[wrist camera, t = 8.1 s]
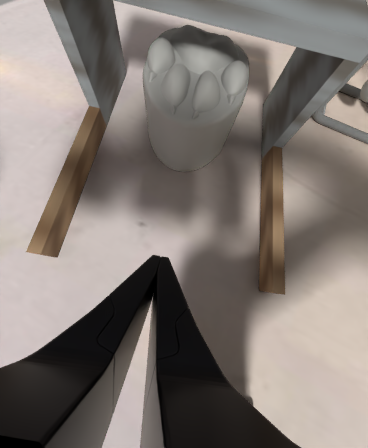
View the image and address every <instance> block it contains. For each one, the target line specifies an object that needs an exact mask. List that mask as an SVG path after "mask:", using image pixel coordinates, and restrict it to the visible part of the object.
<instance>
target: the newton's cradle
mask: <svg viewBox="0 0 368 448" xmlns="http://www.w3.org/2000/svg"><path fill="white" fill-rule="evenodd" d="M367 60H368V54H367V55H366V57H365V58H364V59H363V60H362V61H361V62H360V63H359V64H358V65H357V66H356V68H355V69H354V70H353V71H352V72H351V73H350V74H349V75H348V76H347V77H346V78H345V80H344V81H343V82H342V83H341V84H340V85H339V86H338V87H337V88H336V89H335V90H334V92H333V93H332V94H331V95H330V96H329V97H328V98H327V99H326V100H325V101H324V103H323V104H322V105H321V106H320V107H319V108H318V109H317V110H316V111H315V112H314V113H313V118H314V120H315V121H316V122H317V123H319V124H321V125H324V126H326V127H328V128H331V129H333V130H336V131H338V132H340V133H343V134H345V135H347V136H350V137H352V138H355V139H357V140H359V141H362V142H364V143H367V144H368V133H365V132H363V131H361V130H358V129H356V128H353V127H351V126H349V125H346V124H344V123H341V122H339V121H337V120H334V119H332V118H329V117H327V116H325V115H324V114H325V109H326V104H327V103H328V102H329V101H330V100H331V99H332V98H333V97H334V96H335V94H336V93H337V92H338V91H340V92H343V93H345V94H348V95H350V96H352V97H355V98H357V99H360V100H362V101H364V102H366V103H368V80H367V81H366V82H365V84H364V85H363V87H362V89H358V88H356V87H354V86H351V85H349V84H346V83H347V82H348V81H349V80H350V78H351V77H352V76H353V75H354V74H355V73H356V72H357V71H358V70H359V69H360V68H361V67H362V66H363V65H364V64H365V62H366V61H367Z"/></svg>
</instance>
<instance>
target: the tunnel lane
mask: <svg viewBox="0 0 368 448" xmlns="http://www.w3.org/2000/svg"><path fill="white" fill-rule="evenodd" d="M115 1H118V2H122V3H126V4H130V5H134V6H138V7H142V8H146V9H150V10H154V11H158V12H162V13H166V14H169V15H173V16H177V17H181V18H185V19H189V20H193V21H197V22H201V23H205V24H209V25H213V26H217V27H220V28H224V29H228V30H232V31H236V32H240V33H244V34H248V35H252V36H256V37H260V38H264V39H268V40H271V41H275V42H279V43H283V44H287V45H291V46H295V47H296V49H295V51H294V53H293V54H292V56H291V58H290V59H289V61H288V63H287V65H286V66H285V68H284V70H283V72H282V73H281V75H280V77H279V79H278V80H277V82H276V84H275V85H274V87H273V89H272V91H271V92H270V94H269V96H268V98H267V99H266V101H265V103H264V104H263V134H262V179H261V223H260V268H259V291H264V292H270V293H277V294H285V267H284V218H283V169H282V147H283V146H284V145H285V144H286V143H287V142H288V141H289V140H290V139H291V138H292V136H293V135H294V134H295V133H296V132H297V131H298V130H299V129H300V128H301V127H302V126H303V124H304V123H305V122H306V121H307V120H308V119H309V118H310V117H311V116H312V115H313V113H314V112H315V111H316V110H317V109H318V108H319V107H320V106H321V105H322V104H323V103H324V101H325V100H326V99H327V98H328V97H329V96H330V95H331V94H332V93H333V92H334V90H335V89H336V88H337V87H338V86H339V85H340V84H341V83H342V82H343V81H344V80H345V78H346V77H347V76H348V75H349V74H350V73H351V72H352V71H353V70H354V69H355V68H356V66H357V65H358V64H359V63H360V62H361V61H362V60H363V59H364V58H365V57H366V55H367V54H368V5H367V2H366V0H115ZM44 2H45V4H46V7H47V9H48V11H49V14H50V16H51V18H52V21H53V23H54V25H55V28H56V30H57V32H58V35H59V37H60V39H61V42H62V44H63V46H64V49H65V51H66V53H67V55H68V58H69V60H70V62H71V65H72V67H73V69H74V72H75V74H76V76H77V79H78V81H79V83H80V86H81V88H82V90H83V93H84V95H85V97H86V99H87V102H88V104H89V108H88V110H87V112H86V115H85V117H84V119H83V122H82V124H81V126H80V129H79V131H78V133H77V136H76V138H75V140H74V142H73V145H72V147H71V149H70V152H69V154H68V156H67V159H66V161H65V163H64V166H63V168H62V170H61V172H60V175H59V177H58V179H57V182H56V184H55V186H54V189H53V191H52V193H51V196H50V198H49V200H48V203H47V205H46V207H45V209H44V212H43V214H42V216H41V219H40V221H39V223H38V226H37V228H36V230H35V233H34V235H33V237H32V239H31V242H30V244H29V246H28V249H27V251H26V252H29V253H35V254H40V255H45V256H51V257H58V254H59V251H60V249H61V246H62V243H63V241H64V238H65V235H66V233H67V230H68V227H69V225H70V222H71V219H72V217H73V214H74V211H75V209H76V206H77V203H78V201H79V198H80V195H81V193H82V190H83V187H84V185H85V182H86V179H87V177H88V174H89V171H90V169H91V166H92V163H93V161H94V158H95V155H96V153H97V150H98V147H99V145H100V142H101V139H102V137H103V134H104V131H105V129H106V126H107V123H108V121H109V118H110V115H111V113H112V110H113V107H114V105H115V102H116V99H117V97H118V94H119V91H120V89H121V86H122V83H123V81H124V78H125V75H126V70H125V64H124V59H123V53H122V48H121V42H120V37H119V31H118V26H117V20H116V15H115V9H114V4H113V0H44Z"/></svg>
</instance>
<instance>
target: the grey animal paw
mask: <svg viewBox="0 0 368 448" xmlns="http://www.w3.org/2000/svg"><path fill="white" fill-rule="evenodd" d="M248 79H249V61H248V57H247V55H246V54H245V52H244V51H243V50H242V49H241V48H240V47H239V46H237V45H236V44H234V43H233V41H232V40H231V39H230V38H229V37H227V36H224V35H218V34H215V33H209V32H206V31H204V30H201V29H199V28H196V27H194V26H191V25H185V26H183V27H181V28H174V29H171V30H168V31H166V32H164V33H162V34H161V35H160V36H159V37H158V39H156V40H155V41H154V42H153V43H152V44H151V46H150V48H149V50H148V57H147V60H146V62H145V66H144V69H143V87H144V96H145V105H146V115H147V124H148V134H149V139H150V142H151V145H152V148H153V150H154V152H155V154H156V156H157V157H158V158H159V159H160V161H161V162H162V163H163V164H165V165H166V166H167V167H169V168H170V169H173V170H175V171H180V172H188V171H193V170H196V169H199V168H202V167H204V166H205V165H207V164H208V163H209V162H211V161H212V160H213V159H214V158H215V157H216V156H217V155H218V154H219V153H220V152H221V150H222V147H223V145H224V143H225V141H226V139H227V136H228V134H229V132H230V130H231V128H232V125H233V123H234V121H235V119H236V117H237V114H238V112H239V110H240V108H241V105H242V103H243V100H244V97H245V94H246V90H247V86H248Z"/></svg>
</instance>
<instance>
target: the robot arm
mask: <svg viewBox="0 0 368 448" xmlns="http://www.w3.org/2000/svg"><path fill="white" fill-rule="evenodd" d="M153 293H154V294H153ZM152 298H153V300H152ZM151 301H152V310H151V322H150V334H149V346H148V359H147V371H146V383H145V395H144V407H143V420H142V431H141V443H140V448H301V447H299V446H298V445H296V444H295V443H293V442H292V441H291V440H290V439H288V438H287V437H286V436H285V435H284V434H283V433H282V432H280V431H279V430H278V429H277V428H276V427H275V426H274V425H273V424H272V423H271V422H270V421H269V420H267V419H266V418H265V417H264V416H263V415H262V414H261V413H260V412H259V411H258V410H257V409H256V408H254V407H253V406H252V405H251V404H250V403H249V402H248V401H247V400H246V399H245V398H244V397H243V396H241V395H240V394H239V393H238V392H237V391H236V390H235V389H234V388H233V387H232V386H231V384H230V383H229V382H228V380H227V379H226V378H225V376H224V375H223V373H222V371H221V370H220V368H219V366H218V364H217V362H216V361H215V359H214V357H213V355H212V353H211V352H210V350H209V348H208V346H207V344H206V342H205V341H204V339H203V337H202V335H201V333H200V331H199V329H198V327H197V325H196V323H195V321H194V319H193V316H192V314H191V311H190V309H189V307H188V304H187V302H186V299H185V297H184V294H183V292H182V289H181V287H180V284H179V282H178V279H177V277H176V275H175V272H174V270H173V267H172V265H171V262H170V260H169V258H168V257H161V258H160V256H157V255H152V256H151V257H150V258H149V259H148V260H147V261H146V262H145V263H143V264H142V265H141V266H140V267H139V268H138V269H137V270H136V271H135V272H134V273H133V274H131V275H130V276H129V277H128V278H127V279H126V280H125V281H124V282H123V283H122V284H121V285H119V286H118V287H117V288H116V289H115V290H114V291H113V292H112V293H111V294H110V295H109V296H107V297H106V298H105V299H104V300H103V301H102V302H101V303H100V304H98V305H97V306H96V307H95V308H94V309H93V310H91V311H90V312H89V313H88V314H86V315H85V316H84V317H82V318H81V319H80V320H79V321H77V322H76V323H75V324H73V325H72V326H70V327H69V328H68V329H66V330H65V331H64V332H62V333H61V334H60V335H58V336H57V337H56V338H54V339H53V340H52V341H50V342H49V343H48V344H46V345H45V346H44V347H42V348H41V349H39V350H38V351H36V352H35V353H33V354H31V355H29V356H28V357H26V358H24V359H22V360H20V361H17V362H15V363H12V364H9V365H7V366H4V367H1V368H0V448H102V445H103V442H104V439H105V436H106V433H107V430H108V427H109V424H110V422H111V419H112V414H113V413H114V410H115V407H116V404H117V401H118V398H119V395H120V392H121V389H122V386H123V383H124V380H125V378H126V375H127V372H128V369H129V366H130V363H131V360H132V357H133V354H134V351H135V348H136V345H137V342H138V340H139V337H140V334H141V331H142V328H143V325H144V322H145V319H146V316H147V313H148V310H149V307H150V304H151Z"/></svg>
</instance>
